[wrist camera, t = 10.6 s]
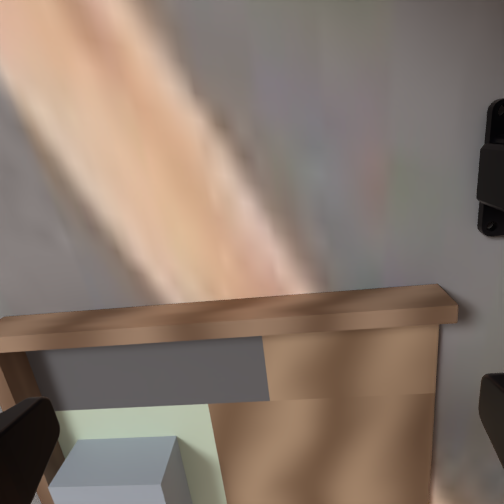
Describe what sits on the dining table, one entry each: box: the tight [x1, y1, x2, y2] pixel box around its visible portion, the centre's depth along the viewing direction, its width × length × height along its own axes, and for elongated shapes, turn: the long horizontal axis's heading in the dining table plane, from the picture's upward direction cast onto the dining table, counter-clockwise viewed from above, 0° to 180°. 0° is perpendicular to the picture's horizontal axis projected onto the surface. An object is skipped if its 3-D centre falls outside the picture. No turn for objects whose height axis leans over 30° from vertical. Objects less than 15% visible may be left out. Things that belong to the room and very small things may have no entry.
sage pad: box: [55, 404, 227, 504], centre depth 26 cm, size 11×12×1 cm
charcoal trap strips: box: [25, 336, 270, 411], centre depth 26 cm, size 15×24×1 cm, turn 7°
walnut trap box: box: [0, 284, 458, 504], centre depth 24 cm, size 26×26×2 cm
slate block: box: [48, 436, 192, 504], centre depth 24 cm, size 7×7×4 cm
